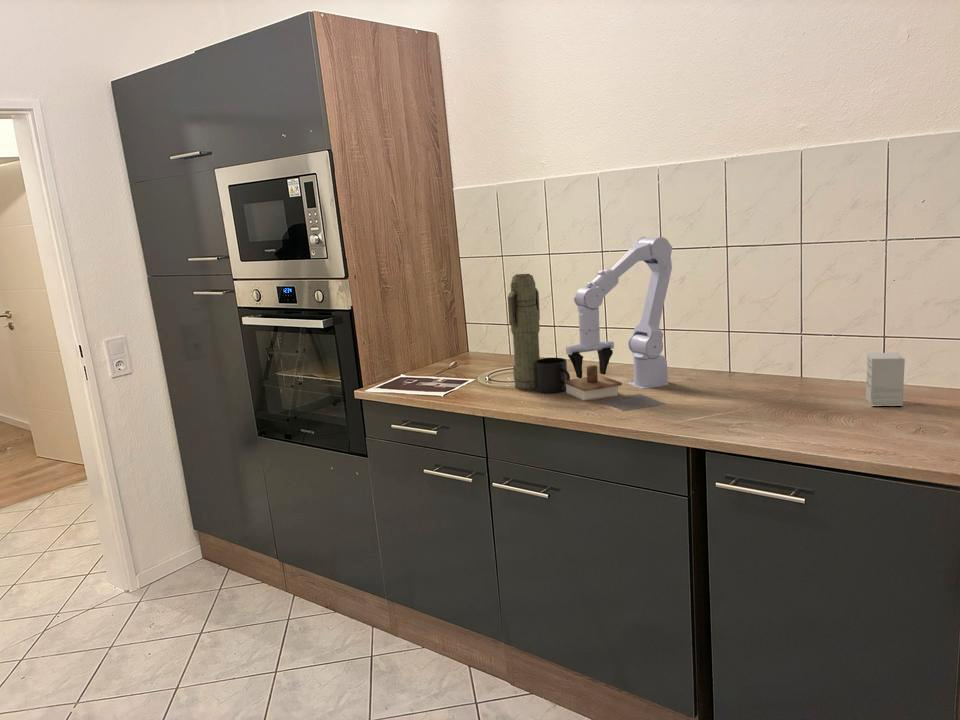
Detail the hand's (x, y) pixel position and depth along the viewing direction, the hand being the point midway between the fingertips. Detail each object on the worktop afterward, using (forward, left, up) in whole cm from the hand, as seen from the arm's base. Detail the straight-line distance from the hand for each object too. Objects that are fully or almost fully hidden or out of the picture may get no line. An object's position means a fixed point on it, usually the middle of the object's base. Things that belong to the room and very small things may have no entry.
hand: (591, 375), depth 213 cm
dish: (0, 0, -6) cm, 6 cm away
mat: (-5, +14, -6) cm, 16 cm away
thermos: (+11, -21, -6) cm, 24 cm away
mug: (+6, -12, -6) cm, 15 cm away
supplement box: (-57, +49, -6) cm, 75 cm away
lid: (0, +1, -2) cm, 2 cm away
